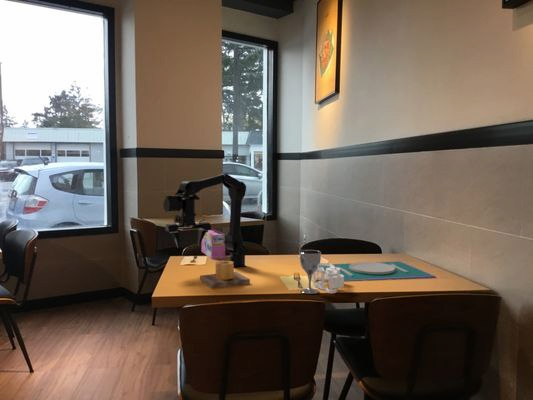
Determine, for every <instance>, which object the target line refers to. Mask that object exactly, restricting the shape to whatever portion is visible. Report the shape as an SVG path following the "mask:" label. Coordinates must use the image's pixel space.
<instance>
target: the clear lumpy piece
mask: <svg viewBox="0 0 533 400" xmlns="http://www.w3.org/2000/svg"><path fill="white" fill-rule="evenodd" d="M332 264H333V263H330V262H320V266H330V267H329V268H326V271H324V268H323V267H318V269H317V270H316V271H315V272H314V273H313V275H312V284H313V286H314V287H315V288H317V289H320V290H323V291H326V292H327V293H328V294H336V293H338V289H342V288H344V287H345V286H344V283H345V281H344V275H342V274H340V269H339V268H336V267H335V266H334V265H332ZM319 273H320V276H319ZM317 281H319V282H317ZM325 282H328V287H329V288H328V287H327V286H325Z"/></svg>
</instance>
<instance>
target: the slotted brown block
mask: <svg viewBox="0 0 533 400" xmlns="http://www.w3.org/2000/svg"><path fill="white" fill-rule="evenodd" d="M221 261H222V264H227V261H228V260H221ZM199 280H200V281H201V282H202V283H204V285H206V286H208V287H209V288H210V289H212V290H213V289H218V288H219V289H220V288H229V287H238V286H244V285H245V286H246V285H250V284H251V279H250V278H249V277H247V276H245V275H243V274H242V273H239V271H234V277H233V278H232V279H226V280H223V279H217V278H216V273H212V274H203V275H201V274H200V275H199Z"/></svg>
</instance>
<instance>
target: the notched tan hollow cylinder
mask: <svg viewBox="0 0 533 400" xmlns="http://www.w3.org/2000/svg"><path fill="white" fill-rule="evenodd" d="M222 261H223V260H219V261H216V262H215V274H216V278H217V279H223V280H224V281H227V280H226V279H232V278H233V277H234V272H235V271H234V270H235V268H234V262H232V261H229V260H226V261H227V264H222Z"/></svg>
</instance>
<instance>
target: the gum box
mask: <svg viewBox="0 0 533 400" xmlns="http://www.w3.org/2000/svg"><path fill="white" fill-rule="evenodd" d="M225 235H226V234H225V233H224V232H221V231H219V230H218V229H215V228H211V230H208V232H206V233H205V235H204V237H203V239H202V242H201V253H202V254H204V255H206V256H207V257H208V258H210V259H211V260H217V259H219V260H220V259H226V247H225V244H224V241H225V237H224V236H225Z"/></svg>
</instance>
